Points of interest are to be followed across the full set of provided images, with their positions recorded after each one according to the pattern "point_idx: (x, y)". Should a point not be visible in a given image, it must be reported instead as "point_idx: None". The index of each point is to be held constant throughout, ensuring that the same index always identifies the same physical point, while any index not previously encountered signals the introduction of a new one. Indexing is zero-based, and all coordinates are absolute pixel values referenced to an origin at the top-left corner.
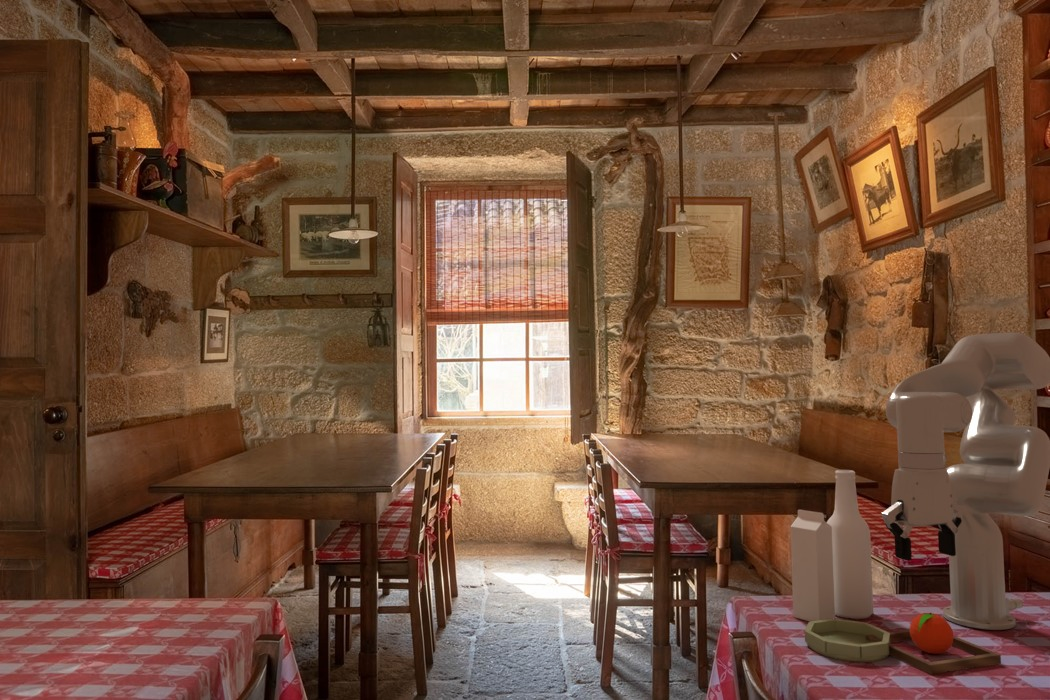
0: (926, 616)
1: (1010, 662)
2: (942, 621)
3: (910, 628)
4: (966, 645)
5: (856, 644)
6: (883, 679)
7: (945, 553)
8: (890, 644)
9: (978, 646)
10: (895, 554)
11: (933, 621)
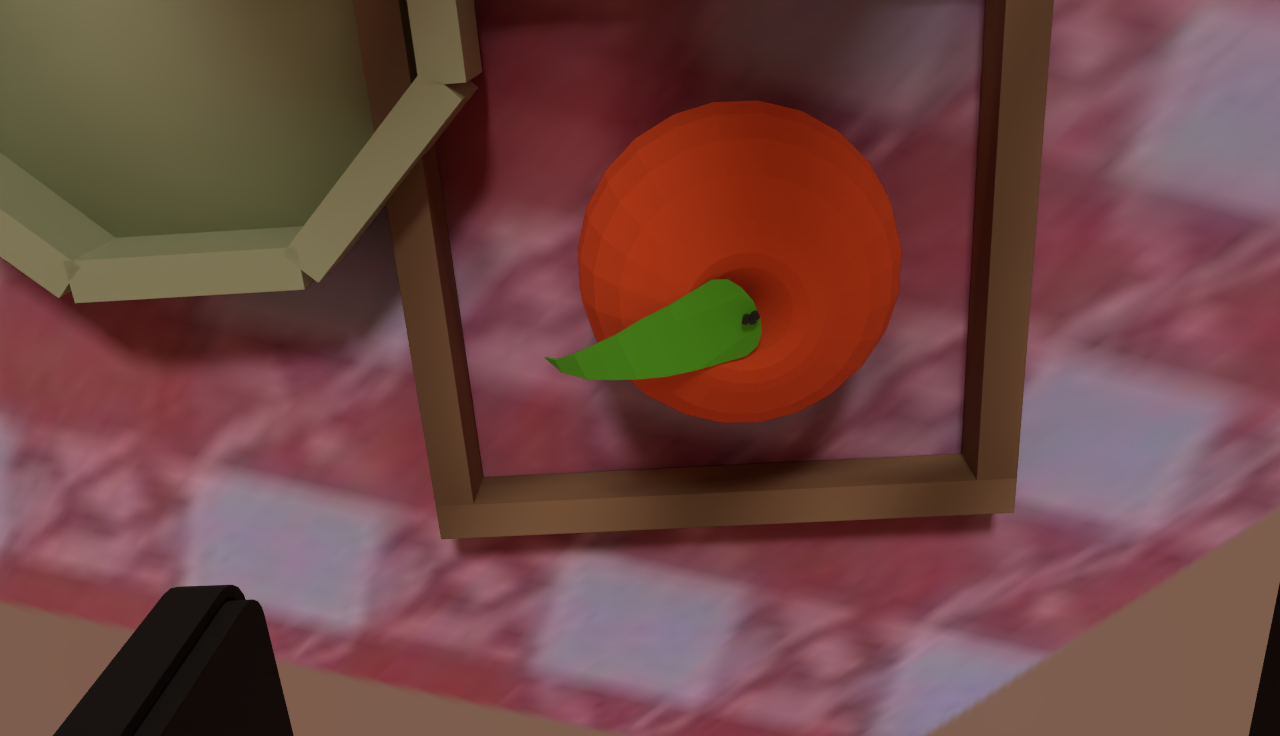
0: (675, 342)
1: (1073, 481)
2: (777, 398)
3: (598, 195)
4: (982, 292)
5: (54, 255)
6: (140, 498)
7: (1259, 700)
8: (418, 171)
9: (1015, 365)
10: (157, 609)
11: (694, 388)
